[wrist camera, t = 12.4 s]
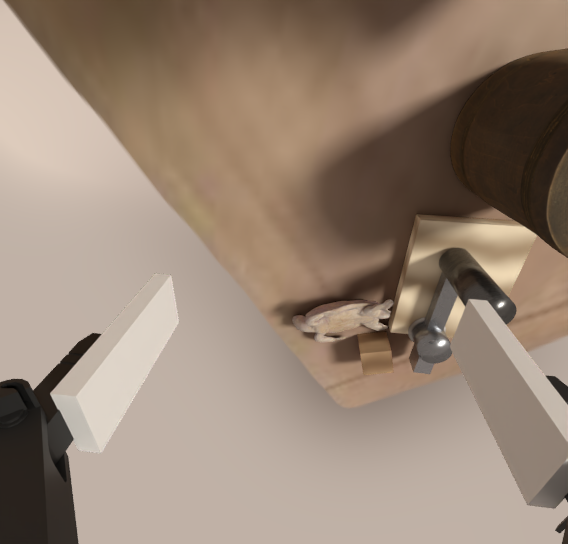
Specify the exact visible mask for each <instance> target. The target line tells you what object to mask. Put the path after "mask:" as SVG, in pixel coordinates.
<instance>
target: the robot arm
mask: <svg viewBox="0 0 568 544" xmlns="http://www.w3.org/2000/svg"><path fill="white" fill-rule="evenodd" d="M178 323H179V318H178V312H177V306H176V300H175V295H174V289H173V283H172V277H171V275H168V274H156V273H155V274H154V275H153V276H152V277H151V278H150V280H149V281H148V282H147V283H146V284H145V285H144V286H143V288H142V289H141V290H140V291H139V292H138V293H137V294H136V296H135V297H134V298H133V299H132V300H131V301H130V302H129V304H128V305H127V306H126V307H125V308H124V309H123V311H122V312H121V313H120V314H119V315H118V316H117V317H116V319H115V320H114V321H113V322H112V323H111V324H110V325H109V327H108V328H107V329H106V330H105V331H104V332H103V333H102V334H97V333H92V334H91V335H89V336H87V337H86V338H84V339H83V340H81V341H79V342H78V343H77V344H76V345H75V346H74V348H73V349H72V350H71V351H70V352H69V354H68V355H66V356H65V357H64V358H63V359H62V361H61V362H60V364H58V365H57V366H56V367H55V368H54V369H53V370H52V371H51V372H50V373H49V374H48V375H47V376H46V377H45V379H44V380H43V381H42V382H41V383H40V384H39V385H38V386H37V387H36V388H35V389H34V390H32V388H31V386H30V384H29V383H28V382H27V381H25V380H23V379H11V380H6V381H3V382H0V544H78V536H77V527H76V520H75V511H74V502H73V494H72V485H71V477H70V468H69V460H68V455H67V453H66V450H67V448H68V447H69V445H70V444H71V442H72V441H74V442H75V444H76V446H77V448H78V450H79V451H86V452H95V453H102V451H103V450H104V448H105V446H106V445H107V443H108V441H109V439H110V438H111V436H112V434H113V433H114V431H115V429H116V428H117V426H118V424H119V423H120V421H121V419H122V417H123V416H124V414H125V412H126V411H127V409H128V407H129V406H130V404H131V402H132V401H133V399H134V397H135V396H136V394H137V392H138V391H139V389H140V387H141V385H142V384H143V382H144V380H145V379H146V377H147V375H148V374H149V372H150V370H151V368H152V367H153V365H154V364H155V362H156V360H157V358H158V357H159V355H160V353H161V352H162V350H163V348H164V347H165V345H166V343H167V341H168V340H169V338H170V337H171V335H172V333H173V331H174V330H175V328H176V326H177V325H178ZM450 348H451V351H452V353H453V355H454V357H455V359H456V361H457V363H458V365H459V367H460V369H461V371H462V373H463V375H464V377H465V379H466V381H467V383H468V385H469V387H470V389H471V391H472V393H473V395H474V397H475V399H476V401H477V403H478V405H479V408H480V410H481V412H482V414H483V415H484V418H485V419H486V422H487V424H488V426H489V428H490V430H491V432H492V434H493V436H494V438H495V440H496V442H497V444H498V446H499V448H500V450H501V452H502V454H503V456H504V458H505V460H506V462H507V464H508V467H509V469H510V471H511V473H512V475H513V477H514V478H515V481H516V483H517V485H518V487H519V489H520V491H521V493H522V495H523V497H524V499H525V501H526V503H527V505H530V506H539V507H547V508H556V507H557V506H558V505H559V504H560V502H561V501H562V500H563V499H564V498H566V500H567V502H568V386H566V385H565V384H564V383H562V382H561V381H560V380H559V379H558V378H556V377H555V376H545V375H544V374H543V372H542V371H541V370H540V368H539V367H538V366H537V365H536V363H535V362H534V361H533V359H532V358H531V357H530V355H529V354H528V353H527V352H526V350H525V349H524V348H523V346H522V345H521V344H520V342H519V341H518V340H517V339H516V337H515V336H514V335H513V333H512V332H511V331H510V329H509V328H508V327H507V326H506V324H505V323H504V322H503V320H502V319H501V318H500V316H499V315H498V314H497V313H496V311H495V310H494V309H493V307H492V306H491V305H490V303H489V302H488V301H487V300H475V299H468V302H467V304H466V307H465V309H464V312H463V314H462V317H461V319H460V322H459V324H458V327H457V329H456V332H455V334H454V337H453V340H452V342H451V345H450ZM564 529H565V533H564V537H563V542H562V544H568V516H567V517H566V518H565V519H564V520H563V521H562V522H561V524H559V525H558V527H557V528H556V530H555V531H557V532H558V533H561V532H562V531H563V530H564Z"/></svg>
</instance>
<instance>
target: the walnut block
mask: <svg viewBox="0 0 568 544" xmlns="http://www.w3.org/2000/svg"><path fill="white" fill-rule="evenodd" d="M357 336H358V342H359V349H360V356H361V362H362V368H363V374H364V375H369V374H381V373H392V372H393V362H392V353H391V348H390V344H389V340H388V336H387V333H386V331H381V332H372V333H363V334H357Z"/></svg>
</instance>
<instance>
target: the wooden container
mask: <svg viewBox="0 0 568 544" xmlns="http://www.w3.org/2000/svg"><path fill="white" fill-rule="evenodd" d="M450 151H451V152H450V153H451V161H452V165H453V168H454V171H455V173H456V175H457V177H458V178H459V180H460V181H461V182H462V183H463V184H464V185H465V186H466V187H467V188H468V189H469V190H471V191H472V192H473V193H475V194H476V195H478V196H479V197H480V198H482V199H483V200H484V201H485V202H487V203H488V204H490V205H491V206H493V207H494V208H496V209H497V210H499V211H500V212H502V213H503V214H505V215H507V216H508V217H510V218H512V219H513V220H515V221H516V222H518V223H520V224H521V225H523V226H524V227H526V228H527V229H529V230H530V231H532V232H533V233H535V234H536V235H538V236H539V237H540V238H541V239H542V240H544V241H545V242H546V243H547V244H549V245H550V246H551V247H552V248H554V249H555V250H557V251H558V252H559V253H561V254H562V255H564V256H566V257H567V258H568V49H562V50H554V51H547V52H541V53H536V54H532V55H529V56H526V57H523V58H520V59H517V60H515V61H513V62H511V63H509V64H507V65H505V66H504V67H502V68H501V69H499V70H498V71H496V72H495V73H494V74H492V75H491V76H490V77H489V78H488V79H487V80H485V81H484V82H483V83H482V84H481V85H480V86H479V87H478V89H477V90H476V91H475V92H474V93H473V94H472V96H471V97H470V98H469V99H468V101H467V102H466V104H465V106H464V107H463V109H462V111H461V112H460V114H459V116H458V119H457V121H456V124H455V127H454V130H453V134H452V139H451V150H450Z"/></svg>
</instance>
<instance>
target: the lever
mask: <svg viewBox="0 0 568 544" xmlns="http://www.w3.org/2000/svg"><path fill="white" fill-rule="evenodd" d="M439 267H440V269H441V270H442V274H441V276H440V279H439V282H438V284H437V287H436V290H435V293H434V295H433V298H432V301H431V303H430V306H429V309H428V312H427V314H426V317H425V320H424V321H423V322H420V323H418V324H417V325H415V326H414V328H413V329H412V333H411V334H412V338H413V341H414V346H413V349H412V351H411V354H410V357H409V360H410V363H411V366H412V369H413V372H417V373H425V374H430V373H431V370H432V368H433V366H434V363H440V362H443V361H445V360H447V359H448V358H449V357H450V356H451V354H452V351H451V348H450V345H451V343H450V341H449V339H448V337H447V335H446V333H445V331H444V327H445V325H446V323H447V320H448V318H449V315H450V313H451V310H452V308H453V306H454V303H455V301H456V298H457V296H459V298H460V300H461V301H462V303H463V304H464V306H465V307H466V304H467V302H468V299H475V300H487V301H488V302H489V303H490V305H491V306H492V307H493V309H494V310H495V311H496V313H497V314H498V315H499V316H500V318H501V319H502V320H503V322H504V323H505V324H508V323H509V322H510V321H511V320H512V319H513V318H514V316H515V314H516V306H515V304H514V303H513V302H512V301H511V300H510V298H509V297H508V296H507V295H506V294H505V293H504V292H503V290H502V289H501V288H500V287H499V286H498V285H497V284H496V283H495V281H494V280H493V279H492V278H491V277H490V276H489V275H488V273H487V272H486V271H485V270H484V269H483V268H482V267H481V265H480V264H479V263H478V262H477V261H476V260H475V259H474V258H473V256H472V255H471V254H470V253H469V252H468V251H467V250H466V249H464V248H452V249H449V250H447V251H446V252H445V253H443V254H442V256H441V257H440V259H439Z"/></svg>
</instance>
